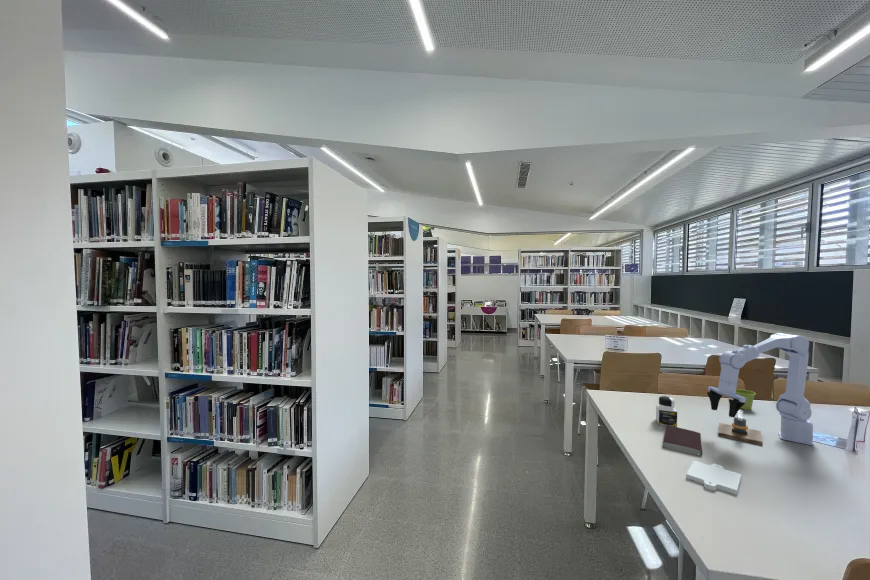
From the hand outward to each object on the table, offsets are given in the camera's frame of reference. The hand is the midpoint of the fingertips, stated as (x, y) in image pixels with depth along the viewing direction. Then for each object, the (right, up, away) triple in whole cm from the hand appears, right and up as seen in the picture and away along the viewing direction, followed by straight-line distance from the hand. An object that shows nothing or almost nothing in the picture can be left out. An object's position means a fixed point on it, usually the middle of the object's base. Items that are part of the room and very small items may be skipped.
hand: (722, 413), depth 150 cm
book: (-20, -11, -4) cm, 23 cm away
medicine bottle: (-13, -10, +17) cm, 23 cm away
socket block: (+10, -11, +4) cm, 15 cm away
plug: (+10, -11, +4) cm, 15 cm away
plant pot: (+41, -11, +38) cm, 57 cm away
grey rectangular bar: (+11, -3, +4) cm, 12 cm away
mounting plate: (-28, -12, -31) cm, 43 cm away
